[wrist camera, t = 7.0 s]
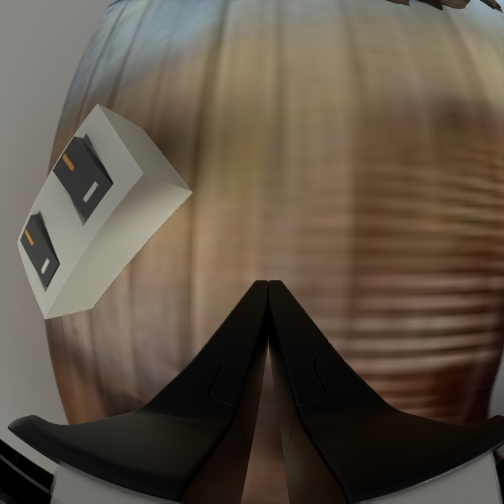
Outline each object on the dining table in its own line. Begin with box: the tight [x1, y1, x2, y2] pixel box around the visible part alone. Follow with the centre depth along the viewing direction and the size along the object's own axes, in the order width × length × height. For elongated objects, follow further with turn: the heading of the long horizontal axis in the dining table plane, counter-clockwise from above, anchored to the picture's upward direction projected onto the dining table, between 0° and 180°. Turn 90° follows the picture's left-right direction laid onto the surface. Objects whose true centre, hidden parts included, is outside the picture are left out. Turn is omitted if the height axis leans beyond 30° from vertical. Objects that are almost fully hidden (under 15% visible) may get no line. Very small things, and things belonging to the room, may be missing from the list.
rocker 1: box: [20, 214, 60, 287], centre depth 20 cm, size 6×4×1 cm, turn 40°
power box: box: [17, 103, 193, 319], centre depth 22 cm, size 15×18×7 cm
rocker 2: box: [53, 136, 114, 219], centre depth 18 cm, size 6×4×1 cm, turn 41°
